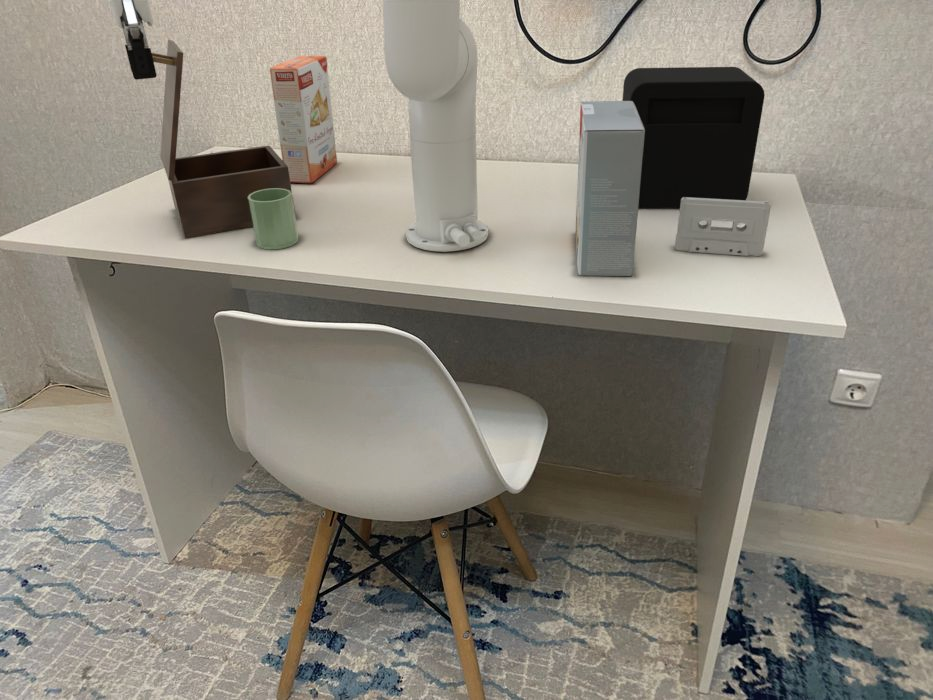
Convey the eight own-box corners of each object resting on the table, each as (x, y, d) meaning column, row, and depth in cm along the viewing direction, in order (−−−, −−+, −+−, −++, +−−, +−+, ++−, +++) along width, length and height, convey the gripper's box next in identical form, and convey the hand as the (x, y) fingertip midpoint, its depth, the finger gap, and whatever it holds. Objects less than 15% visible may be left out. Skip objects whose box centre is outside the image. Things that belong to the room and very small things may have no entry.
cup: (302, 244, 113) (295, 197, 109) (260, 252, 111) (252, 204, 107) (293, 231, 118) (286, 185, 114) (253, 238, 116) (244, 192, 112)
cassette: (761, 252, 105) (771, 200, 101) (762, 257, 104) (772, 205, 100) (674, 246, 108) (680, 195, 104) (674, 251, 107) (680, 200, 103)
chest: (277, 194, 135) (269, 145, 130) (296, 219, 123) (288, 166, 119) (175, 210, 129) (163, 159, 124) (184, 238, 117) (171, 183, 112)
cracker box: (314, 184, 139) (298, 67, 128) (284, 183, 140) (266, 67, 130) (340, 163, 151) (327, 54, 140) (312, 162, 152) (297, 54, 141)
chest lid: (173, 40, 117) (136, 33, 114) (183, 52, 105) (142, 44, 103) (165, 157, 124) (130, 152, 122) (174, 180, 112) (135, 176, 110)
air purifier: (728, 181, 133) (746, 64, 123) (747, 209, 121) (768, 81, 111) (615, 181, 135) (623, 66, 125) (621, 208, 123) (631, 82, 113)
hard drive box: (574, 234, 113) (580, 100, 103) (624, 234, 113) (635, 99, 103) (576, 276, 100) (584, 127, 90) (634, 277, 99) (648, 127, 89)
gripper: (143, -64, 96) (175, 81, 105) (136, -64, 110) (165, 64, 119) (81, -62, 94) (119, 87, 103) (81, -62, 107) (115, 69, 116)
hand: (143, 73), depth 111 cm, fingers closed on chest lid, 5 cm apart
